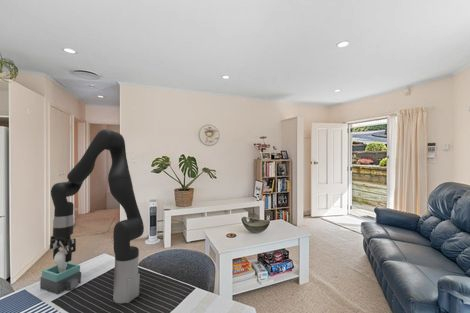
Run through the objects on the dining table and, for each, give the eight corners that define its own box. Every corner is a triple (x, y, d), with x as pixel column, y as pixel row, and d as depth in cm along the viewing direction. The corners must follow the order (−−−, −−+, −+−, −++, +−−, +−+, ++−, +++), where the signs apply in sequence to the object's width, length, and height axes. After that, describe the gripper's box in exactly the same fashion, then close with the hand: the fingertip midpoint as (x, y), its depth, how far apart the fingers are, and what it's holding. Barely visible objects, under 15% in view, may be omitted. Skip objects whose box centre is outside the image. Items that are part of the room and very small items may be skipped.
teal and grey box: (85, 283, 101) (85, 266, 101) (61, 296, 92) (62, 277, 92) (64, 277, 106) (64, 260, 107) (40, 288, 97) (40, 270, 97)
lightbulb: (63, 277, 97) (64, 253, 97) (50, 277, 97) (50, 253, 97) (73, 270, 103) (74, 247, 103) (61, 270, 103) (61, 247, 103)
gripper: (82, 224, 101) (80, 259, 101) (62, 221, 106) (60, 254, 106) (65, 229, 94) (63, 266, 94) (44, 225, 99) (42, 260, 99)
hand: (62, 259), depth 100 cm, fingers open, 8 cm apart
